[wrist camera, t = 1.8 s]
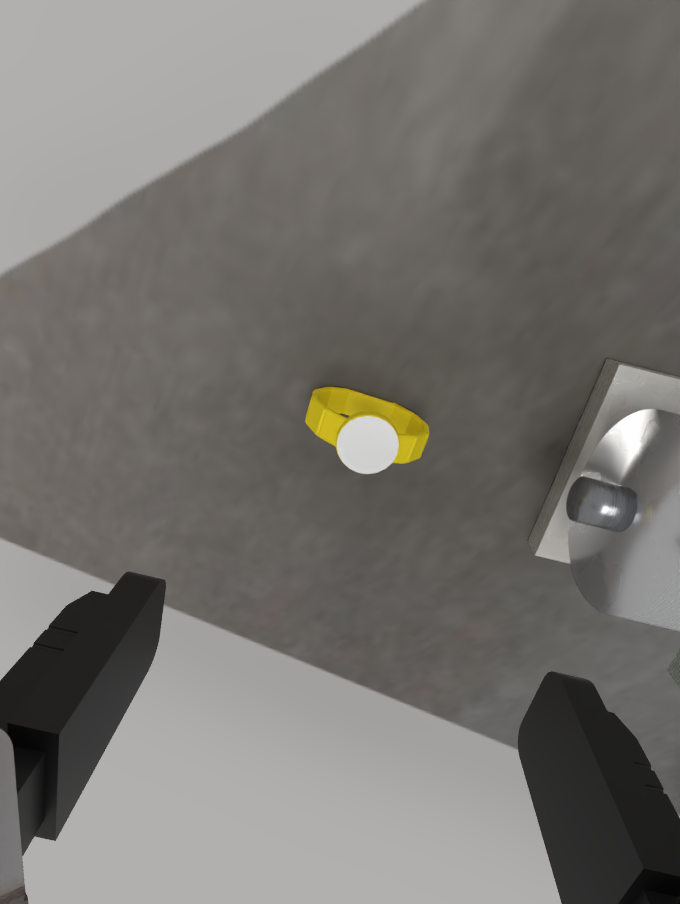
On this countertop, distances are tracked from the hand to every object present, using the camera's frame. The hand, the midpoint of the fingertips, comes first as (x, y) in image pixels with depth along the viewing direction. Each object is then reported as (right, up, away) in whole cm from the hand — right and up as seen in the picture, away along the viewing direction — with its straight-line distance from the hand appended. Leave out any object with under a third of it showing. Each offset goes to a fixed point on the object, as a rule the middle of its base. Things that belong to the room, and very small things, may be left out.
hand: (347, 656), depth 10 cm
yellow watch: (+1, +7, +17) cm, 19 cm away
